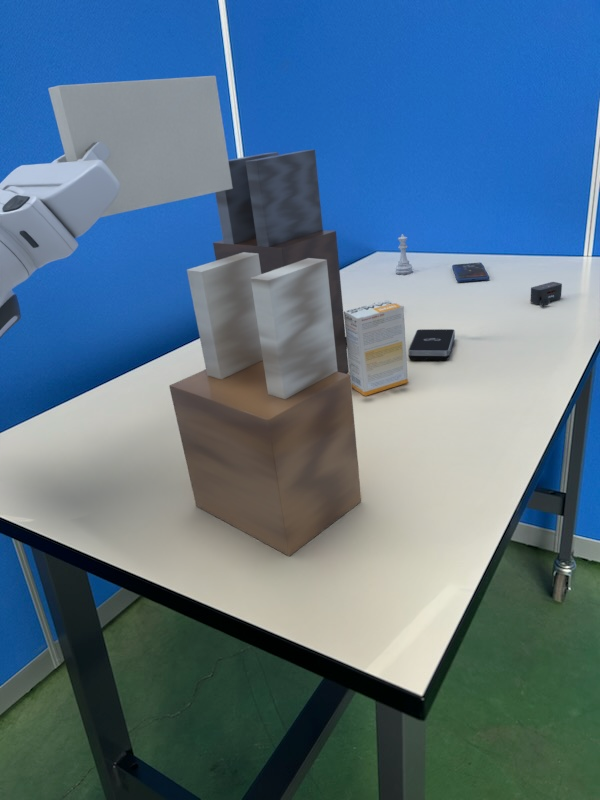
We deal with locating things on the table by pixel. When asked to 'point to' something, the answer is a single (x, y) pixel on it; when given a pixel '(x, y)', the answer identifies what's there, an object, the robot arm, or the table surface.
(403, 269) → the chess piece
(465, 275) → the smartphone
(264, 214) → the bookstand
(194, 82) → the white book
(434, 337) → the external hard drive
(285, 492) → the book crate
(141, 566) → the table surface
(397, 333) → the supplement box
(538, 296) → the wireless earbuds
